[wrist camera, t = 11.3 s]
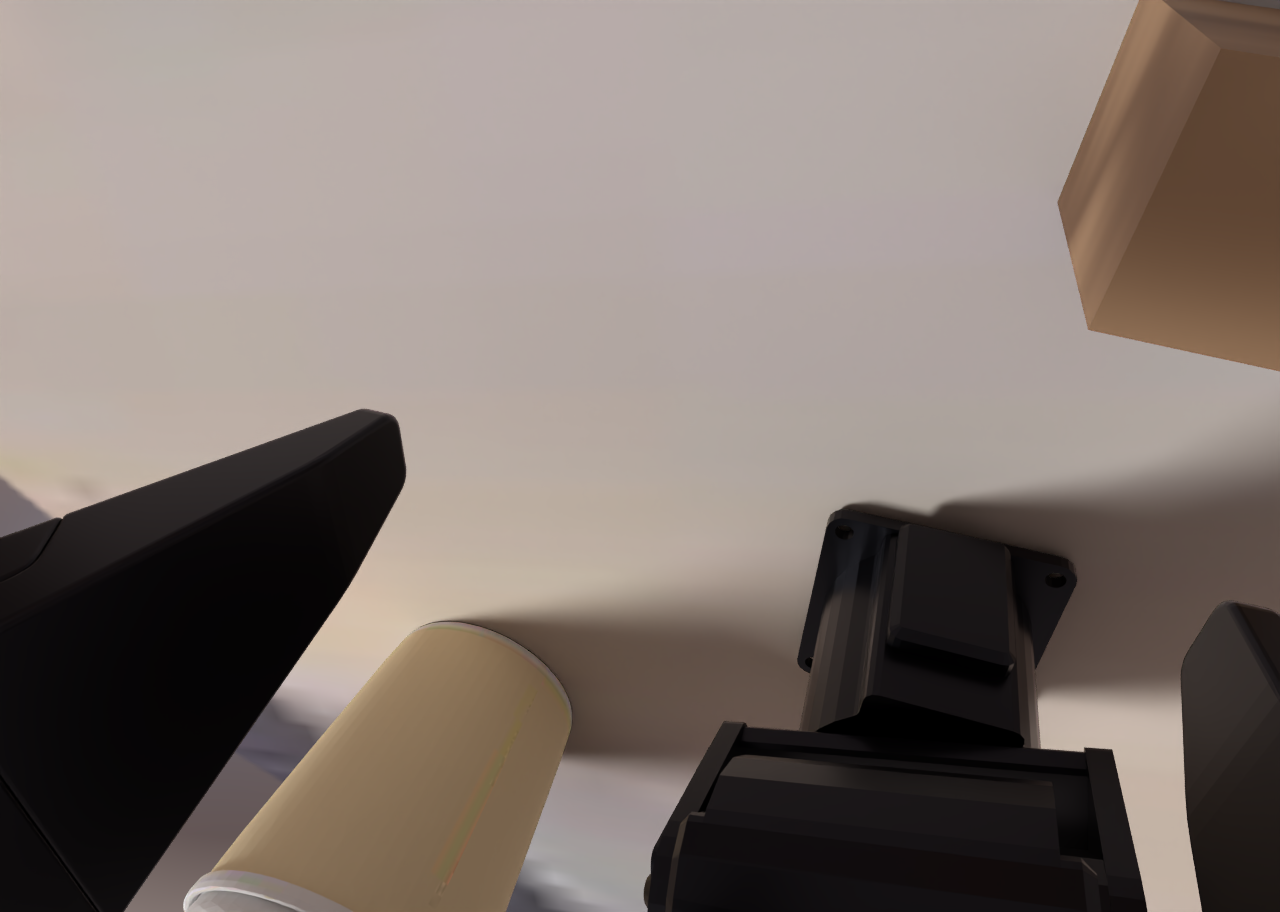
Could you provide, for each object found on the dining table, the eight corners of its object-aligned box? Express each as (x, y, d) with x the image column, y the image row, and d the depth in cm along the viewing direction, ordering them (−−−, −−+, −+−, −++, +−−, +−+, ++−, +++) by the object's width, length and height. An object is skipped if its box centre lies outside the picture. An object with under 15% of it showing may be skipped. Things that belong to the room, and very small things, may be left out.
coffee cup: (430, 751, 38) (258, 1040, 29) (346, 598, 34) (108, 886, 24) (618, 776, 35) (490, 1115, 26) (555, 610, 30) (368, 951, 21)
